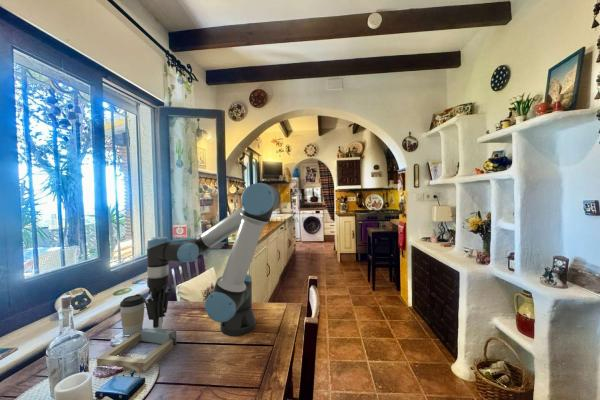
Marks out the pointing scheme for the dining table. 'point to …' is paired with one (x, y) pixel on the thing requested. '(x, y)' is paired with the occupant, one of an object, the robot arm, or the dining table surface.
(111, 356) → the frame
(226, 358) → the dining table surface
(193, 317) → the dining table surface
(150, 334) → the leg
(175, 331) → the pin
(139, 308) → the coffee cup
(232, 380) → the dining table surface
